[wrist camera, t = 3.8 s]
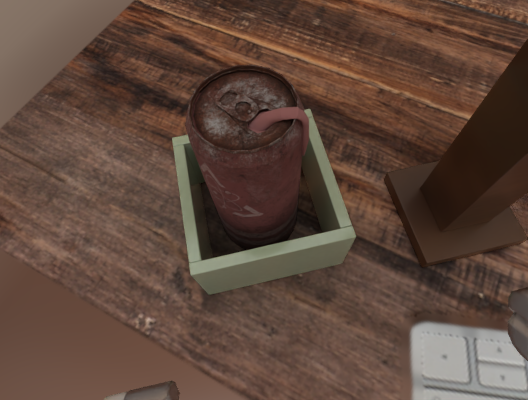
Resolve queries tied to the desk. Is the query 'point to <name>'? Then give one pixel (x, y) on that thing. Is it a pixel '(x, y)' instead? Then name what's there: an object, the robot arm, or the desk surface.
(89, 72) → the desk surface
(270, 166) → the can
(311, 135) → the holder
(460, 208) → the post
